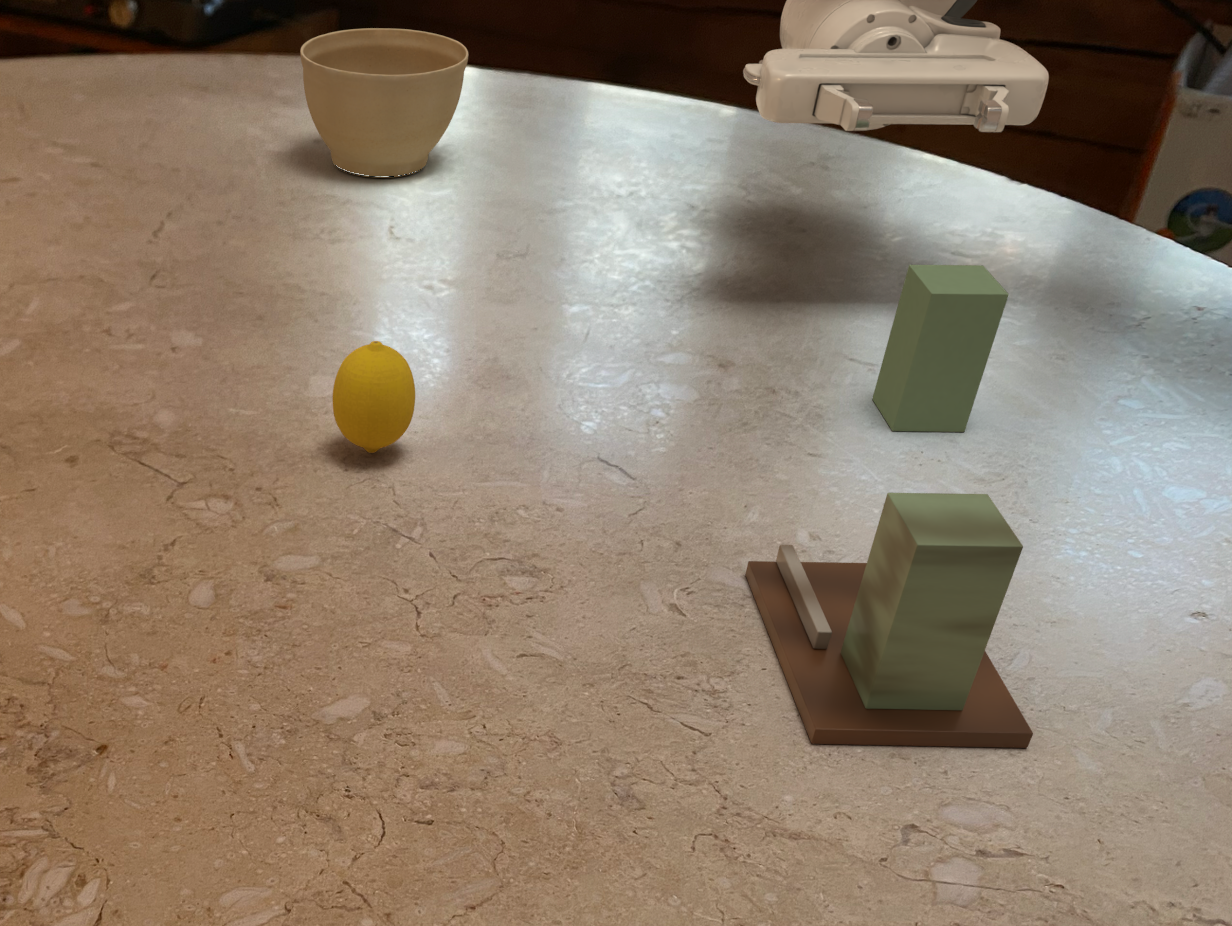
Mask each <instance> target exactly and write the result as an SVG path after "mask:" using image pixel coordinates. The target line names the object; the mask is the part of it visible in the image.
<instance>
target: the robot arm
mask: <svg viewBox="0 0 1232 926" xmlns="http://www.w3.org/2000/svg"><path fill="white" fill-rule="evenodd" d="M977 1H978V0H786V1H785V3H784V6H783V9H782V12H781V16H780V24H779V42H780V45H781V48H778V49H777V48H776V49H772V50H769V51H767V52H766V53H765V55H763V59H761V60H759V61H758V63H747V64H745V66H744V68H743V70H742V74H743V78H744V79H745V80H746V81H747V83H749V84H750V85H754V86H757V89H756V95H755V102H756V106H757V111H758V113H759V114H760V117H761V118H762V119H764V120H766V121H769V122H772V123H777V124H834V125H836V126H837V125H838V126H841V127H842V129H843V130H844V131H845V132H867V131H870V130H871V131H872V130H878V129H882V128H885V127H887V126H890V125H969V126H970V125H973V127H974V128H975V129H977V130H978V132H980V133H1002V132H1003V131H1004V129H1005V126H1026V125H1030V124H1031V123H1032V122H1034V121H1035V120H1036V119H1037V117H1038V115H1039V114H1040V111H1041V108H1042V106H1043V103H1044V100H1045V97H1046V93H1047V90H1048V85H1049V79H1050V75H1049V71H1048V70H1047V68H1046V67H1045V66H1044V65H1043V64H1042V63H1041V62H1040V61H1038V60H1037V59H1036V58H1035V57H1034V56H1032V55H1031V54H1030V53H1028V52H1027V51H1026V50H1024V48H1021V47H1020V46H1019V45H1016V44H1015V43H1012V42H1010V41H1007V40H1005V39H1001V37H1000V36H1001V28H1000V27H999V26H998V25H997V24H994V23H992V22H989V21H981V20H977V19H969V18H963V17H964V16H965V15H966V13H968V11H970V10H971V9H972V7H973V6H974V5H975V4H976V3H977Z"/></svg>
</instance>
